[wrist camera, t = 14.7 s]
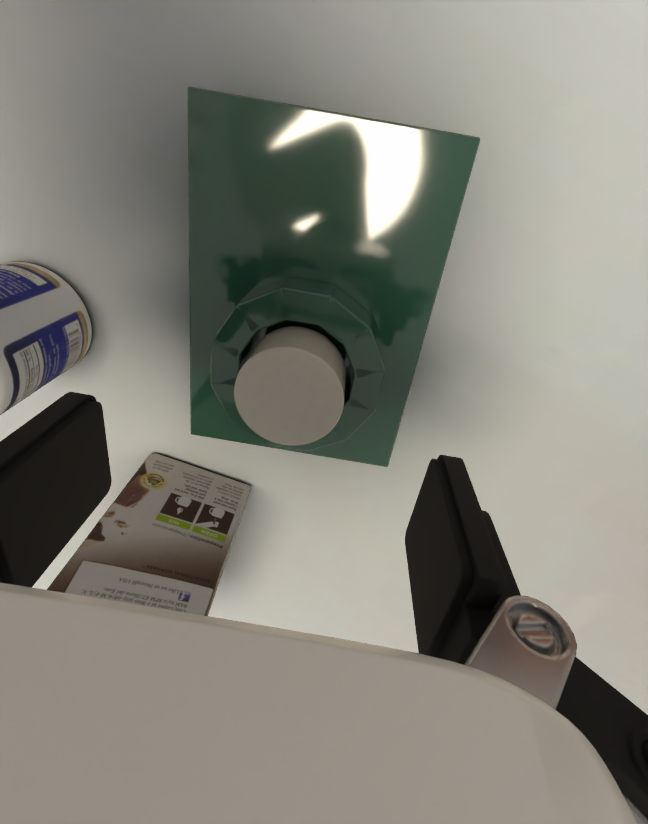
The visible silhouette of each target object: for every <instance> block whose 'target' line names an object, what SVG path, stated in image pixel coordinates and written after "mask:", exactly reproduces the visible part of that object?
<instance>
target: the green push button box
mask: <svg viewBox="0 0 648 824" xmlns="http://www.w3.org/2000/svg"><path fill="white" fill-rule="evenodd" d="M479 142H480V138H479V137H475V136H469V135H463V134H458V133H452V132H446V131H440V130H435V129H429V128H423V127H418V126H412V125H406V124H401V123H395V122H389V121H383V120H378V119H372V118H366V117H361V116H355V115H349V114H343V113H338V112H332V111H326V110H321V109H315V108H309V107H304V106H298V105H292V104H286V103H281V102H275V101H269V100H264V99H258V98H252V97H246V96H241V95H235V94H229V93H224V92H218V91H212V90H206V89H201V88H195V87H188V177H189V288H190V398H191V434H194V435H200V436H206V437H212V438H217V439H223V440H229V441H235V442H241V443H247V444H253V445H259V446H265V447H271V448H277V449H283V450H289V451H295V452H301V453H307V454H313V455H319V456H325V457H331V458H337V459H343V460H349V461H355V462H361V463H366V464H372V465H378V466H384V467H388V464H389V461H390V457H391V454H392V450H393V447H394V443H395V440H396V436H397V432H398V429H399V425H400V422H401V418H402V415H403V411H404V408H405V404H406V401H407V397H408V394H409V390H410V386H411V383H412V379H413V376H414V372H415V369H416V365H417V362H418V358H419V355H420V351H421V348H422V344H423V340H424V337H425V333H426V330H427V326H428V323H429V319H430V316H431V312H432V309H433V305H434V302H435V298H436V294H437V291H438V287H439V284H440V280H441V277H442V273H443V270H444V266H445V263H446V259H447V256H448V252H449V248H450V245H451V241H452V238H453V234H454V231H455V227H456V224H457V220H458V217H459V213H460V210H461V206H462V202H463V199H464V195H465V192H466V188H467V185H468V181H469V178H470V174H471V171H472V167H473V163H474V160H475V156H476V153H477V149H478V146H479ZM295 326H296V327H304V328H308V329H311V330H314V331H316V332H318V333H320V334H322V335H324V336H325V337H326V338H328V339H329V340H330V341H331V342H332V343H333V344H334V345H335V346H336V347H337V349H338V350H339V352H340V354H341V356H342V358H343V361H344V364H345V369H346V383H345V397H344V407H343V411H342V415H341V417H340V419H339V421H338V423H337V424H336V426H335V427H334V428H333V429H332V430H331V431H330V432H329V433H328V434H327V435H325V436H324V437H322V438H321V439H319V440H317V441H314V442H312V443H308V444H304V445H282V444H278V443H274V442H271V441H269V440H267V439H264V438H263V437H261V436H259V435H258V434H256V433H255V432H254V431H253V430H252V429H250V428H249V427H248V426H247V424H246V423H245V422H244V421H243V419H242V417H241V416H240V414H239V412H238V410H237V407H236V403H235V398H234V386H235V381H236V377H237V375H238V373H239V371H240V369H241V368H242V366H243V364H244V363H245V361H246V360H247V358H248V356H249V355H250V353H251V352H252V350H253V348H254V347H255V345H256V344H257V343H258V342H259V340H260V339H262V338H263V337H264V336H265V335H267V334H268V333H270V332H272V331H274V330H276V329H280V328H284V327H295Z"/></svg>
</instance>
